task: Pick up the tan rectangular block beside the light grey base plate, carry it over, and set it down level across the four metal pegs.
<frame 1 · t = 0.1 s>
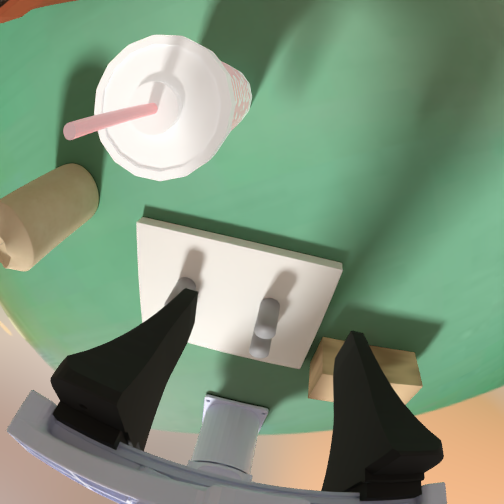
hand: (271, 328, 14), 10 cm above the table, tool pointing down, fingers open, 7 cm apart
beverage cup: (218, 96, 18), on the table
tan rectangular block: (363, 357, 28), on the table
peg base: (228, 298, 26), on the table
candle: (77, 191, 24), on the table
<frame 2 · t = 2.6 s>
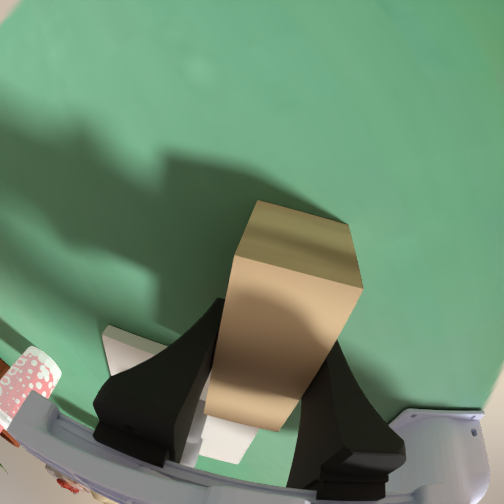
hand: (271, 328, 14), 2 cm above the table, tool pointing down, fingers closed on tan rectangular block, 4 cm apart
beverage cup: (45, 360, 25), on the table
food item: (83, 454, 46), on the table
tan rectangular block: (275, 301, 15), on the table, touching gripper
potted plant: (9, 375, 32), on the table
peg base: (185, 409, 23), on the table
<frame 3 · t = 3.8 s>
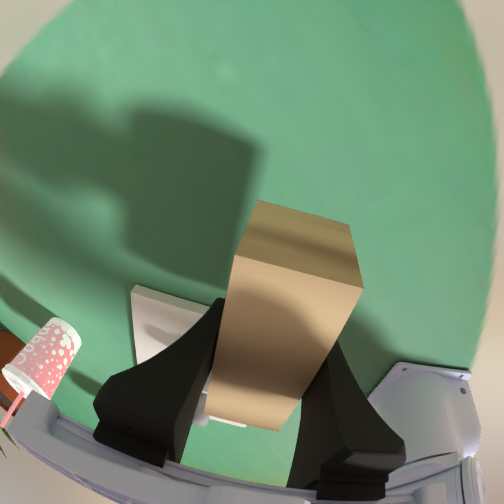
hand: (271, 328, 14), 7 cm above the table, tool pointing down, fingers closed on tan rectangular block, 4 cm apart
beverage cup: (66, 331, 29), on the table
tan rectangular block: (275, 301, 15), point 5 cm above the table, touching gripper
potted plant: (24, 355, 36), on the table
peg base: (200, 367, 27), on the table
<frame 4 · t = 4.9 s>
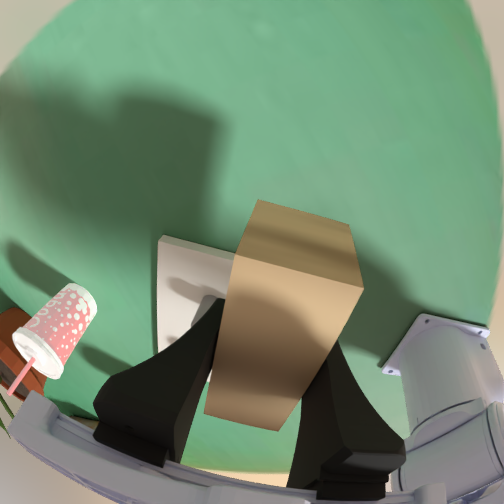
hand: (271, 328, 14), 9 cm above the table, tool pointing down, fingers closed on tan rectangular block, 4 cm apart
beverage cup: (81, 299, 30), on the table
tan rectangular block: (275, 301, 15), point 7 cm above the table, touching gripper
potted plant: (32, 334, 37), on the table
peg base: (222, 327, 27), on the table
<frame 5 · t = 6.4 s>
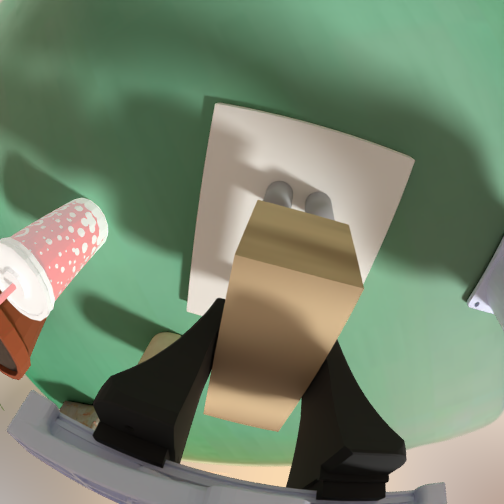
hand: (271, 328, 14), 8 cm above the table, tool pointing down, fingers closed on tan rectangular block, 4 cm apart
beverage cup: (88, 222, 23), on the table
food item: (97, 411, 44), on the table
tan rectangular block: (275, 301, 15), point 6 cm above the table, touching gripper
potted plant: (22, 290, 31), on the table
peg base: (285, 240, 21), on the table
candle: (177, 349, 29), on the table
when the fingers open (7 cm above the table, at t = 7.5 s): tan rectangular block stays where it is, resting on peg base.
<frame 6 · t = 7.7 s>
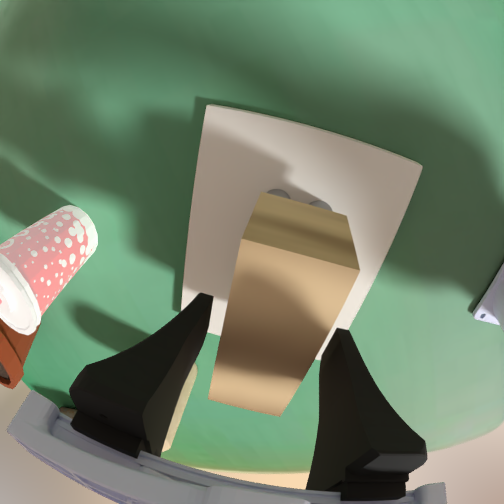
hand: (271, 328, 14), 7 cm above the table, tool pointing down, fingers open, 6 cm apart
beverage cup: (77, 230, 22), on the table
tan rectangular block: (277, 289, 16), point 4 cm above the table, touching peg base
potted plant: (15, 298, 29), on the table
peg base: (283, 251, 20), on the table
candle: (171, 360, 28), on the table
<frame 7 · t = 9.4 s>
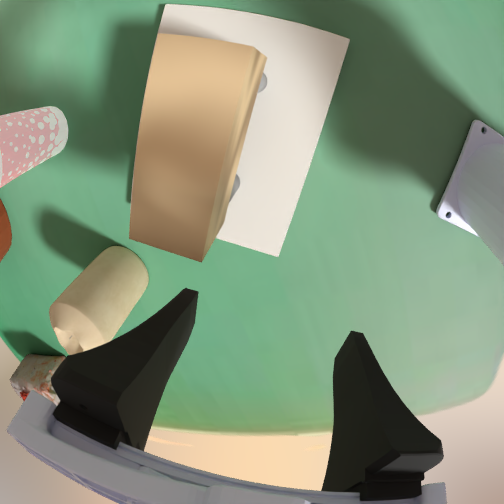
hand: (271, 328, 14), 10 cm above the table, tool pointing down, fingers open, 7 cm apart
beverage cup: (52, 130, 21), on the table
food item: (58, 365, 42), on the table
tan rectangular block: (208, 135, 16), point 4 cm above the table, touching peg base
peg base: (226, 126, 19), on the table
candle: (125, 269, 28), on the table
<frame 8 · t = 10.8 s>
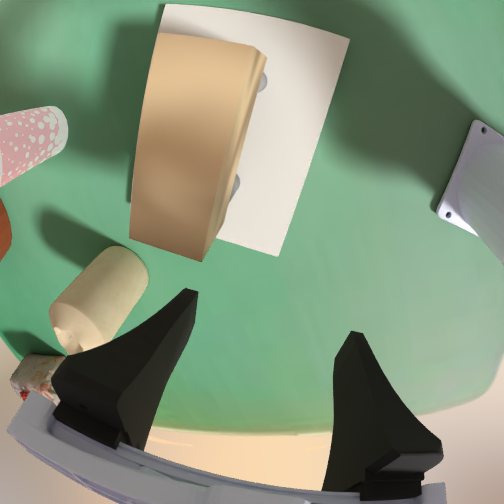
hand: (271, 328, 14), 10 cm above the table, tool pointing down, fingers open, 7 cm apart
beverage cup: (52, 130, 21), on the table
food item: (58, 365, 42), on the table
tan rectangular block: (208, 134, 16), point 4 cm above the table, touching peg base
peg base: (226, 125, 19), on the table
candle: (125, 269, 28), on the table
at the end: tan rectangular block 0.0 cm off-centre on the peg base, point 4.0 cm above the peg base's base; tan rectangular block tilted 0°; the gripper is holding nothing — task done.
